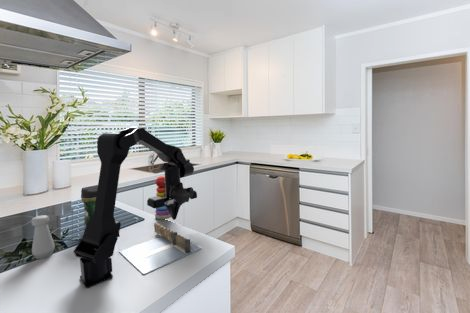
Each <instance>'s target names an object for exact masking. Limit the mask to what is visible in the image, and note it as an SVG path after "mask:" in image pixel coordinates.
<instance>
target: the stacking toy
mask: <svg viewBox="0 0 470 313" xmlns="http://www.w3.org/2000/svg"><path fill="white" fill-rule="evenodd" d="M164 182H165V176H158V177H157V178H156V179H155V185H156V189H155V190H156V194H155V195H156V196H159V197H161V198H163V197H166V196H164V193H165V185H163V183H164ZM154 217H155V219H157V220H168V219H170V218H171V219H172V217H171V215H170V213H169V211H168V209H167V208H166V206H165V205H164V206H163V207H159V208H155V214H154Z"/></svg>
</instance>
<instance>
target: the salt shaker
mask: <svg viewBox="0 0 470 313" xmlns="http://www.w3.org/2000/svg"><path fill="white" fill-rule="evenodd" d="M49 222H50V218H49V216H48V215H46V214H44V215H43V214H42V215H37V216H35V217H33V218H32V219H31V226H32V227H34V228H33V229H34V231H33V237H32V246H31V254H32V256H34V258H35V259H36V260H43V259H46V258H50V256H52V254H54V250H55V248H56V246H55V242H54V239H53V237H52V234H51V231H50V228H49V225H48V224H49Z"/></svg>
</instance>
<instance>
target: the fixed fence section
mask: <svg viewBox="0 0 470 313" xmlns="http://www.w3.org/2000/svg"><path fill="white" fill-rule="evenodd" d="M190 242H191V239H190V238H185V237H184V236H181V235H180V234H178V232H177V231H173V233H172V244H173V245H177V246H179V247H181V248H182V249H184V250H185V252H186V253H190V252H191V246H190Z"/></svg>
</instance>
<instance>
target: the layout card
mask: <svg viewBox="0 0 470 313" xmlns="http://www.w3.org/2000/svg"><path fill="white" fill-rule="evenodd" d="M190 246H191V252H190V253H186V252H185V250H184V249H182V248H181V247H179V246H177V245H173V244H172V242H171V241H169V240H168V239H166V238H164V237H163V236H161V235H160V236H159V237H156V238H152V239H150V240H146V241H144V242H141V243H138V244H136V245H132V246H129V247H127V248H123V249H122V250H118V253H119V254H120V255H121V256H123V257H124V258H125V259H126V260H127V261H128V262H129V263H130V264H131V265H133V267H134V268H136V270H138V271H139V272H140V273H141V275H143V276H145V275H147V274H149V273H151V272H154V271H157V270H158V269H161V268H163V267H165V266H167V265H170V264H172V263H174V262H176V261H178V260H180V259H183V258H185V257H187V256H190V255H192V254H194V253H196V252H199V251H201V250H202V247H200V246H199V245H197V244H195V243H193V242H192V241H190Z"/></svg>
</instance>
